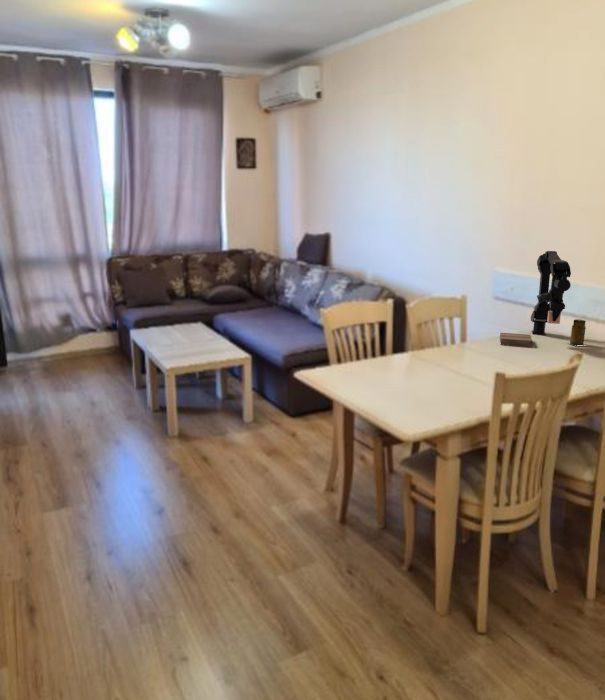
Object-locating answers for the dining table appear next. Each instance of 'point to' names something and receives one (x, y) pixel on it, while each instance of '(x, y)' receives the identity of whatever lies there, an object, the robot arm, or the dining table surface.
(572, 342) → the condiment
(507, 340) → the base plinth
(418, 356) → the dining table surface
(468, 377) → the dining table surface
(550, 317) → the cube
